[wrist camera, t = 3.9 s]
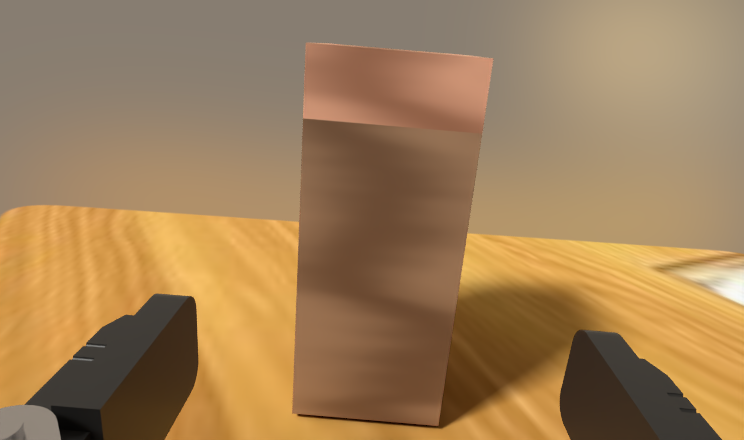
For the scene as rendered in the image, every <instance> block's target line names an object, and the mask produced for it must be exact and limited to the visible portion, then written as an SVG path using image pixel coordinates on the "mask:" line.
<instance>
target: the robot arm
mask: <svg viewBox="0 0 744 440" xmlns="http://www.w3.org/2000/svg"><path fill="white" fill-rule="evenodd" d="M197 370H198V340H197V314H196V303H195V300H194V298H193V297H191V296H180V295H168V294H154V295H153V296H152V297H151V298H150V299H149V300H148V301H147V302H146V303H145V304H144V306H143V307H142V308H141V309H140V310H139V311H138V312H137V313H136V314H135V315H134V316H133V315H124V316H123V317H121V318H119V319H117V320H115V321H113V322H111V323H109V324H107V325H106V326H104V327H102V328H101V329H100V330H99V331H98V332H97V333H96V334H95V335H94V336H93V337H92V338H91V339H90V340H89V341H88V342H87V343H86V346H83V347H82V348H81V349H80V350H79V351H78V352H77V353H76V354H75V355H74V356H73V359H72V360H69V361H68V362H67V363H66V364H65V365H64V366H63V367H62V368H61V369H60V370H59V371H58V372H57V373H56V374H55V375H54V376H53V377H52V378H51V379H50V380H49V381H48V382H47V383H46V384H45V385H44V386H43V387H42V388H41V389H40V390H39V391H38V392H37V393H36V394H35V395H34V396H33V397H32V398H31V399H30V400H29V401H28V402H27V403H26V404H25V405H17V406H10V407H5V408H1V409H0V440H164V439H165V438H166V436H167V434H168V432H169V431H170V429H171V427H172V425H173V423H174V422H175V420H176V418H177V416H178V414H179V413H180V411H181V409H182V407H183V406H184V404H185V402H186V400H187V398H188V397H189V395H190V393H191V391H192V389H193V387H194V384H195V380H196V376H197ZM560 412H561V417H562V421H563V424H564V426H565V428H566V430H567V433H568V435H569V437H570V439H571V440H722V439H721V438H720V437H719V436H718V434H717V433H716V432H715V431H714V430H713V429H712V427H711V426H710V425H709V424H708V423H707V421H706V420H705V419H704V418H703V417H702V416H701V414H700V413H696V408H695V407H694V406H693V405H692V404H691V403H690V401H689V400H688V399H687V398H685V397H683V393H682V392H681V391H680V390H679V388H678V387H677V386H676V385H675V384H674V383H673V381H672V380H671V379H670V378H669V377H668V375H666V374H665V373H663V372H662V371H660V370H659V369H658V368H656V367H655V366H653V365H652V364H650V363H649V362H648V361H646V360H645V359H639V358H638V357H637V355H636V354H635V353H634V352H633V350H632V349H631V348H630V347H629V345H628V344H627V343H626V342H625V340H624V339H623V338H622V337H621V336H620V335H619V334H618V333H614V332H602V331H590V330H579V331H577V333H576V334H575V336H574V338H573V342H572V346H571V350H570V355H569V359H568V363H567V367H566V371H565V376H564V380H563V384H562V388H561V393H560Z"/></svg>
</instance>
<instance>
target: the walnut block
mask: <svg viewBox="0 0 744 440" xmlns="http://www.w3.org/2000/svg"><path fill="white" fill-rule="evenodd" d="M492 65H493V58H485V57H476V56H468V55H457V54H444V53H434V52H421V51H410V50H397V49H387V48H374V47H362V46H351V45H339V44H326V43H306V55H305V81H304V109H303V136H302V164H301V191H300V220H299V246H298V273H297V300H296V328H295V355H294V383H293V410H292V413H295V414H306V415H318V416H329V417H341V418H352V419H364V420H375V421H387V422H399V423H410V424H422V425H433V426H438V425H439V418H440V411H441V405H442V398H443V391H444V385H445V378H446V371H447V365H448V358H449V351H450V345H451V338H452V331H453V325H454V318H455V311H456V305H457V298H458V291H459V285H460V278H461V271H462V265H463V258H464V251H465V245H466V238H467V231H468V225H469V218H470V211H471V205H472V198H473V191H474V185H475V178H476V171H477V165H478V158H479V151H480V145H481V138H482V131H483V125H484V118H485V111H486V105H487V98H488V91H489V85H490V78H491V71H492Z"/></svg>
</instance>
